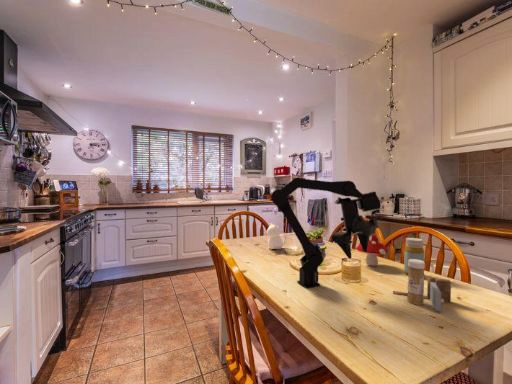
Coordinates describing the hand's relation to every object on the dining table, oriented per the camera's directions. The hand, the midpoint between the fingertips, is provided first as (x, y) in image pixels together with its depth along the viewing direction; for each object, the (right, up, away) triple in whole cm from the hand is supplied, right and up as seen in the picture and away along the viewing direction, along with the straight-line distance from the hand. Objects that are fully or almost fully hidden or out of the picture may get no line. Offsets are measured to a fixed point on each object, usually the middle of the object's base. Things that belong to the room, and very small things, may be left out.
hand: (357, 255), depth 95 cm
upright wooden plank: (+17, -12, -9) cm, 23 cm away
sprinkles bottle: (+13, -12, -13) cm, 22 cm away
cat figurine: (-26, -10, +57) cm, 63 cm away
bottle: (+29, -12, +12) cm, 33 cm away
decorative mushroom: (+17, -11, +24) cm, 32 cm away
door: (+18, -12, -16) cm, 27 cm away
